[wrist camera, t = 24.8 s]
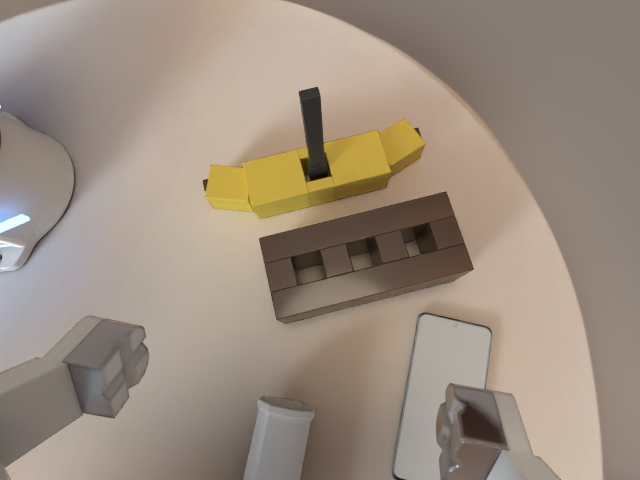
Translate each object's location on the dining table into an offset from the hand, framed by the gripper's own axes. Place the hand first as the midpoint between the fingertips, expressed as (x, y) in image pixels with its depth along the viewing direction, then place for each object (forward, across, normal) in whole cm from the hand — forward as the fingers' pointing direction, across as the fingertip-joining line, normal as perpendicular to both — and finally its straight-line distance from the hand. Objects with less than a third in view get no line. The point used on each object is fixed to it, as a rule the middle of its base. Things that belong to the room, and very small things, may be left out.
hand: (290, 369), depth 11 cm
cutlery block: (+27, -2, +14) cm, 31 cm away
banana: (+33, +4, +8) cm, 34 cm away
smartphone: (+19, -12, +22) cm, 32 cm away
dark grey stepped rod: (+33, +4, +8) cm, 34 cm away
